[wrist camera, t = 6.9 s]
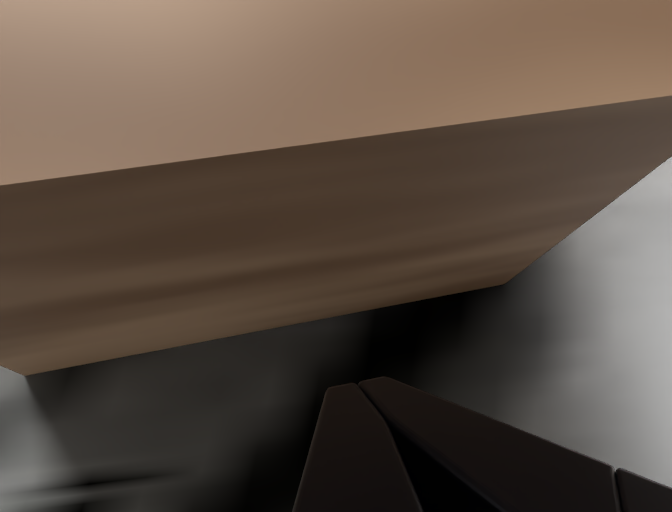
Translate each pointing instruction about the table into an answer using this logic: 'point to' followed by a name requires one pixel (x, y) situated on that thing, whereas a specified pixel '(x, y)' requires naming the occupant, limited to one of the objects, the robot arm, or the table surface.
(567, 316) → the table surface
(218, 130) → the walnut block
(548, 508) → the robot arm
